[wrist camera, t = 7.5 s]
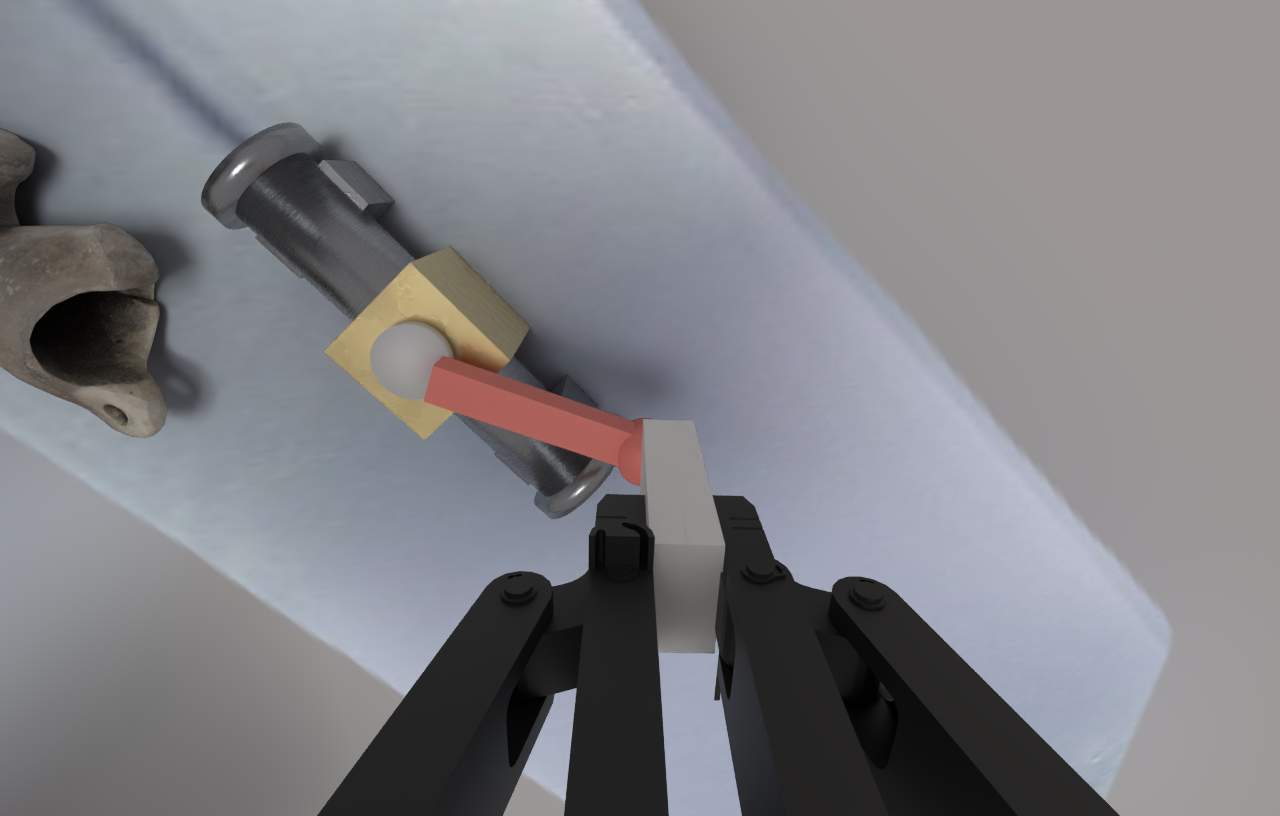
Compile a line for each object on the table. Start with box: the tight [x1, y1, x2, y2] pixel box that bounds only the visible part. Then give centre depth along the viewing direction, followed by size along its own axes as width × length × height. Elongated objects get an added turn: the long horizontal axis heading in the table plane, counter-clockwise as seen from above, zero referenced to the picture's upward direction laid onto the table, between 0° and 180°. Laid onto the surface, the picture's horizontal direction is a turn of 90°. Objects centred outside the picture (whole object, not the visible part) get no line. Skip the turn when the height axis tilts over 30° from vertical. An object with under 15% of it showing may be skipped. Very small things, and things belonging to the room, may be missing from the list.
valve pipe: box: [201, 123, 615, 519], centre depth 36 cm, size 25×7×8 cm, turn 42°
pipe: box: [0, 129, 168, 438], centre depth 35 cm, size 16×9×15 cm
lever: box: [370, 321, 653, 486], centre depth 31 cm, size 16×4×3 cm, turn 69°
